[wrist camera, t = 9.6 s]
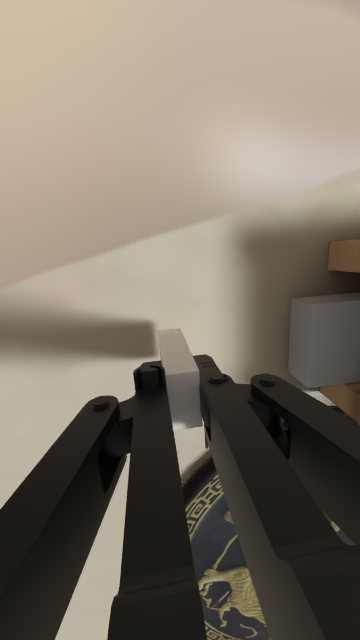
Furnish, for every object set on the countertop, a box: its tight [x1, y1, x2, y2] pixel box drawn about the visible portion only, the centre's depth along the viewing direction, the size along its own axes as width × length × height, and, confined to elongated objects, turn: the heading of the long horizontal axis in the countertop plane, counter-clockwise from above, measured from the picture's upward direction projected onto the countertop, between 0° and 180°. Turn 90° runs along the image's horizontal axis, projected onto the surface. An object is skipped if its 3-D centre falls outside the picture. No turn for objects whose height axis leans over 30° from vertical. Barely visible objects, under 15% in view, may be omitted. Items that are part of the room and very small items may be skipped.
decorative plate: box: [182, 407, 360, 640], centre depth 25 cm, size 30×2×30 cm
